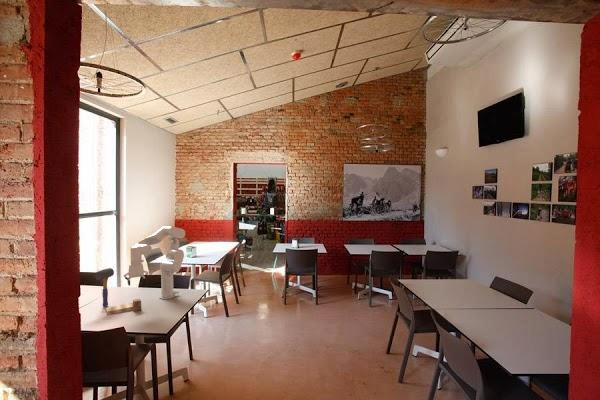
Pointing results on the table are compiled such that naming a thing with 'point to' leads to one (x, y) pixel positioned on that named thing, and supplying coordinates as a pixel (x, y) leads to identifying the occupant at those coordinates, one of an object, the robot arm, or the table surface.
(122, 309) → the board
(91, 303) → the table surface
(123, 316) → the table surface
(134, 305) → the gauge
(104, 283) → the rubber mallet
